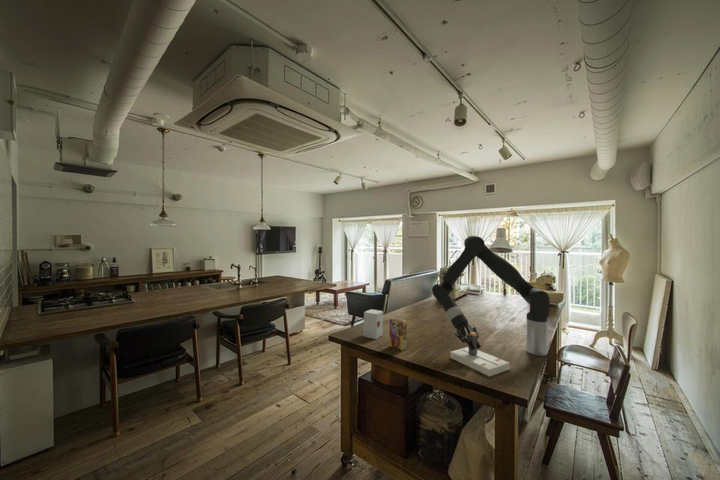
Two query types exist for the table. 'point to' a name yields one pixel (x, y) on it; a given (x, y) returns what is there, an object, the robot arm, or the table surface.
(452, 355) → the console panel
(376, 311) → the supplement box
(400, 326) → the candy box
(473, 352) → the fader tab
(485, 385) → the table surface
